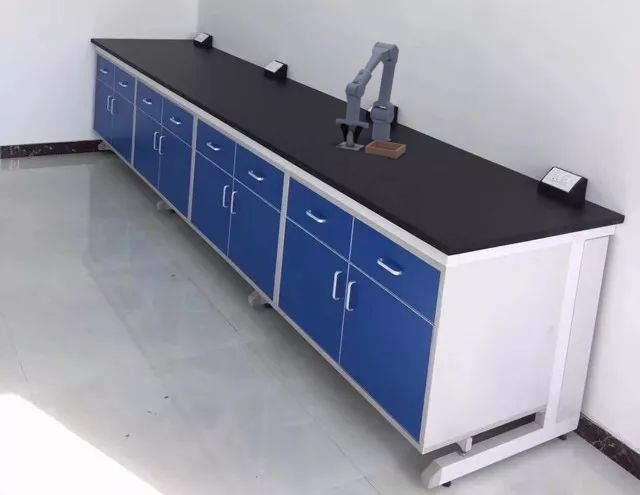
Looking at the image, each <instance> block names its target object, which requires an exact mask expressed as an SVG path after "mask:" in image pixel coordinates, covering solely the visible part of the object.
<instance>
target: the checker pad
mask: <svg viewBox="0 0 640 495" xmlns="http://www.w3.org/2000/svg"><path fill="white" fill-rule="evenodd" d="M363 147H365V145H362V144H357V143H355V147H347V146H346V142H344V141H343V142H341V143H339V144H337V145H336V146H335V148H341V149H346V150H347V149H348V150H354V151H359V150H360V149H361V148H363Z"/></svg>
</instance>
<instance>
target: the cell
mask: <svg viewBox="0 0 640 495" xmlns="http://www.w3.org/2000/svg"><path fill="white" fill-rule="evenodd" d="M354 138H355V128H349V129H348V130H347V136H346V142H345V143H346V146H347V147H355V144H356V143H354Z"/></svg>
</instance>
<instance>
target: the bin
mask: <svg viewBox="0 0 640 495" xmlns="http://www.w3.org/2000/svg"><path fill="white" fill-rule="evenodd" d="M406 146H407V144H402V143H397V142H390V141H378V140H373V141H371V142H370V143H368V144H367V145H364V147H365V148H364V154H371V155H377V156H383V157H387V159H388V160H389V159H390V160H391V159H392V160H398V159H399V158H400V157H401V156H403V155H405V153H406Z"/></svg>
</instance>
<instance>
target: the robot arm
mask: <svg viewBox="0 0 640 495" xmlns="http://www.w3.org/2000/svg"><path fill="white" fill-rule="evenodd" d="M399 53H400V50H399V47H398V45H396V44H394V43H393V44H391V43H386V42H380V41H377V42H376V43H375V44H374V46H373V47H372V55H371V56H370V58H369V60H368V62H367V63H366V65H365V67H364V68H362V69H359V71H358V73H357V75H356V76H355V77H354V79H353V80H352V81H351V82H349V83H348V84H347V85H346V88H345V89H344V90H345V91H344V92H345V95H346V100H347V101H346V111H345V112H346V114H345V119H344V118H336V119H335V124H336V125H340V129H341V131H342V136H343V142H345V143H346V136H347V130H348V129H350V128H349V127H350V126H351V127H354V130H355V138H354V143H355V144H357V143H358V140H359V137H360V135H361V133H362V131H363V129H369V128H370V127H369V126H370V123H368V122H365V121H364V122H363V121H361V120H360V114H361V102H362V97H363V96H364V94H365V91H366V89H367V88H366V86H367V85H368V84H369V82H370V81H371V79H372V77H373V76H372V73H373V71H375V69H376V68H377V66H379V64H380V63H381V62H382V65H383V67H382V73H381V78H380V86H379V91H378V92H379V93H378V99H377V100H375V101H374V102H373V103H372V107H371V109H370V115H369V116H370V119H371V121H372V122H373V123H372V134H371V140H373V141H375V140H378V141H384V142H390V141H392V138H390V135H391V133H390V132H391V123H392V122H393V121H394V118H395V105H394V104H392V103H391V95H392V91H393V90H392V89H393V85H394V84H393V83H394V78H395V72H396V64H397V63H398V59H399Z"/></svg>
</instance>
